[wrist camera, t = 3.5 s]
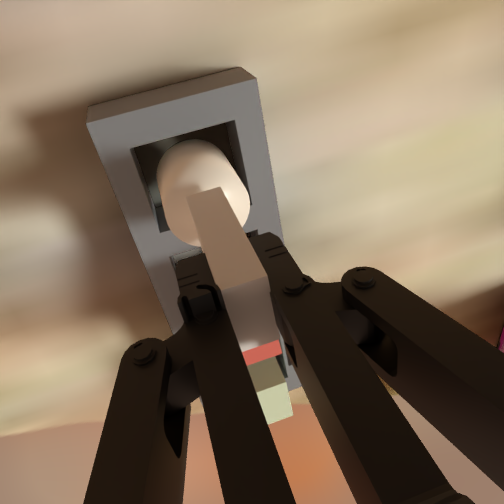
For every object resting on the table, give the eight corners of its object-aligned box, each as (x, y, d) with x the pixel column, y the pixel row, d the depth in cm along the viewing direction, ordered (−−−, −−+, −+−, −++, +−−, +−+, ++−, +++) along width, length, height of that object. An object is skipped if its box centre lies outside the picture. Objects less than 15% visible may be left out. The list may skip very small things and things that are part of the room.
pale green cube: (217, 354, 30) (231, 401, 26) (267, 338, 30) (286, 382, 27) (228, 386, 32) (242, 434, 28) (274, 370, 32) (293, 415, 29)
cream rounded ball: (146, 151, 21) (153, 183, 18) (221, 130, 21) (240, 158, 18) (169, 217, 23) (178, 256, 20) (236, 197, 24) (256, 232, 20)
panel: (88, 106, 21) (84, 132, 18) (240, 66, 22) (264, 83, 19) (201, 388, 35) (211, 435, 31) (294, 356, 36) (314, 397, 32)
